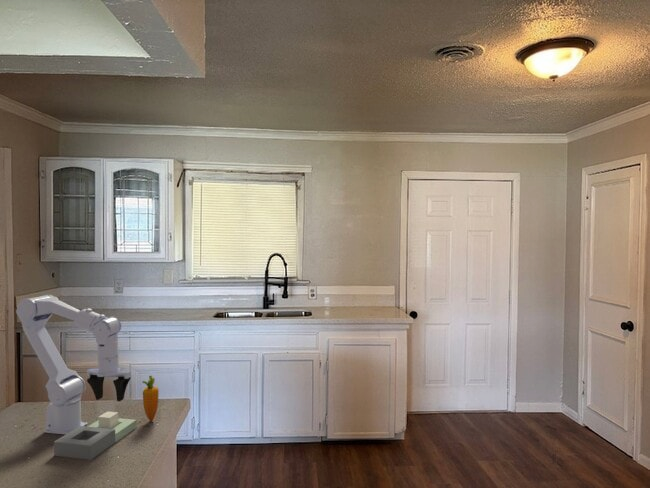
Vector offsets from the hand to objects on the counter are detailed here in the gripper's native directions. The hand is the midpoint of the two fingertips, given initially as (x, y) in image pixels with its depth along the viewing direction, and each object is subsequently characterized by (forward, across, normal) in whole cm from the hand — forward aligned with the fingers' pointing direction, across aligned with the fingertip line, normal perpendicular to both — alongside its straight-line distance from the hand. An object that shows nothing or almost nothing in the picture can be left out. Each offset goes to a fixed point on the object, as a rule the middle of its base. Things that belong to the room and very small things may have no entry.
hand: (109, 399), depth 137 cm
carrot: (+11, +8, +9) cm, 16 cm away
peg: (+10, 0, -1) cm, 10 cm away
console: (+10, 0, -6) cm, 12 cm away
